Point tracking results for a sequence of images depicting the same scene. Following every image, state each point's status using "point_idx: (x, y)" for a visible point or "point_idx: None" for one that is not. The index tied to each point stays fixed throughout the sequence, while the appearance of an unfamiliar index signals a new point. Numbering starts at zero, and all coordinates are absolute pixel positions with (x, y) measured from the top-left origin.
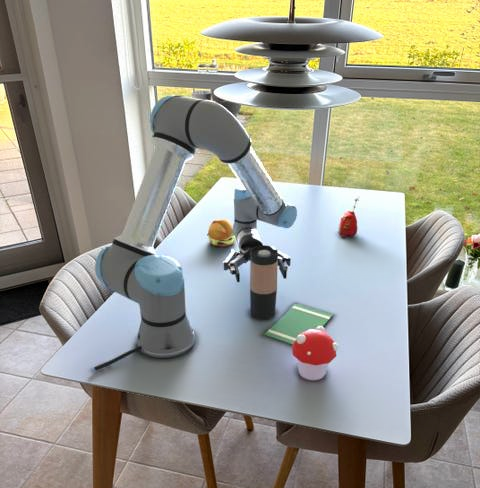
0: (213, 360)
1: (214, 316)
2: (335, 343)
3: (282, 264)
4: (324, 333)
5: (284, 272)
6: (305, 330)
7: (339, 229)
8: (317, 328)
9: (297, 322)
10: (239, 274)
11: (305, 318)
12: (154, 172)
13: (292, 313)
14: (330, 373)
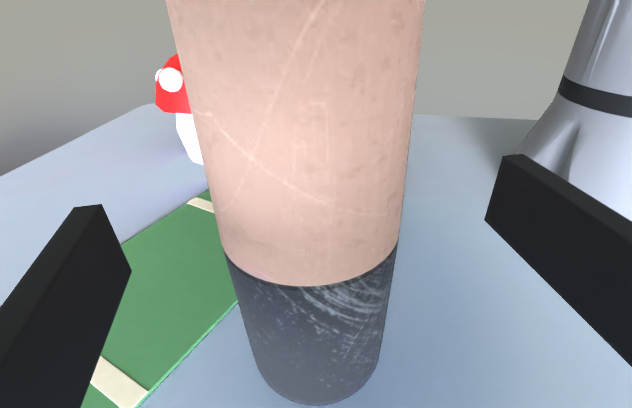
0: (429, 160)
1: (543, 308)
2: (160, 69)
3: (27, 300)
4: (174, 55)
5: (106, 224)
6: (168, 242)
7: None
8: (177, 70)
9: (176, 277)
10: (501, 162)
11: (128, 302)
12: None
13: (169, 335)
14: (182, 152)
